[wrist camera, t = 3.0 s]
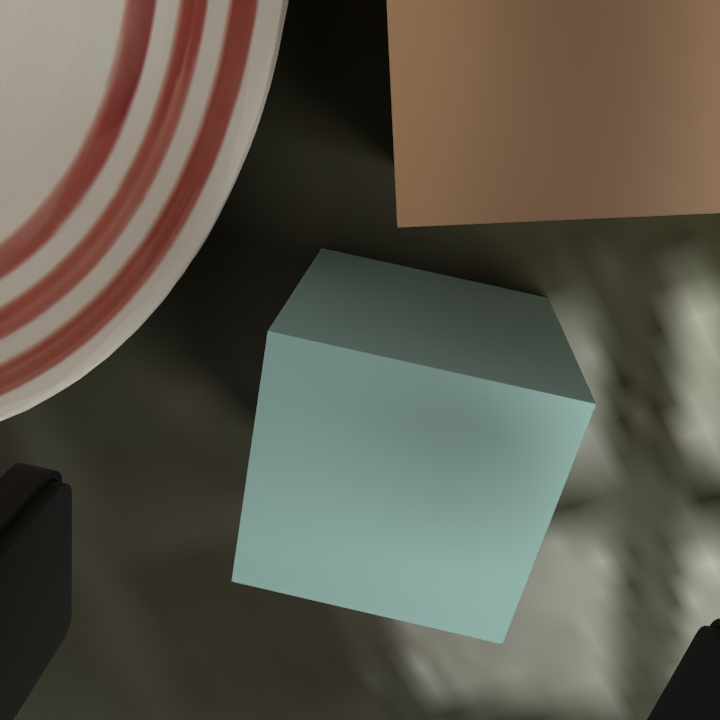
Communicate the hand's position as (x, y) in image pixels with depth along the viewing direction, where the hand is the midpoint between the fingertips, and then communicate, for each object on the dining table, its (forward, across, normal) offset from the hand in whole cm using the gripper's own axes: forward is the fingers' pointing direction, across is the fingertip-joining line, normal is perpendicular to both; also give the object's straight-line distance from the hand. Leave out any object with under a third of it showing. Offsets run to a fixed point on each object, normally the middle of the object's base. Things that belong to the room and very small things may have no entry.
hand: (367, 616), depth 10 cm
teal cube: (+10, 0, 0) cm, 10 cm away
